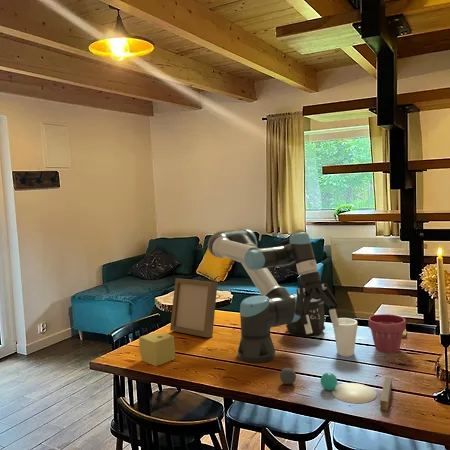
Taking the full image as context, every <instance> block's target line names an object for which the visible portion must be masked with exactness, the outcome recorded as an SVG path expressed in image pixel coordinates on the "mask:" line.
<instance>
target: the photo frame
mask: <svg viewBox="0 0 450 450" xmlns="http://www.w3.org/2000/svg"><path fill="white" fill-rule="evenodd" d="M174 281H175V282H174V290H173V298H172V299H173V300H172V309H171V318H170V319H171V320H170V327H169V330H170V331H172V332H175V333H176V332H177V333H182V334H187V335H193V336H196V337H202V338H213V333H214V323H215V313H216V312H215V311H216V302H217V293H218V292H217V291H218V282H213V281H206V280H205V281H204V280H195V279H186V278H176V277H175V280H174Z"/></svg>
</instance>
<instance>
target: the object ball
mask: <svg viewBox="0 0 450 450" xmlns="http://www.w3.org/2000/svg"><path fill="white" fill-rule="evenodd" d="M320 385H321V387H322V388H323V389H324V390H327V391H332V390H333V389H335V388H336V386H337V385H338V379H337V377H336V375H335V373H332V372H325V373H324V374H322V375H321V378H320Z"/></svg>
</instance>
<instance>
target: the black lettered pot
mask: <svg viewBox="0 0 450 450" xmlns="http://www.w3.org/2000/svg"><path fill="white" fill-rule="evenodd" d="M304 296H305V293H304ZM303 301H304V299H303ZM306 315H308V316H309V320H310V324H311V327H312V331H313V333H310V334H306V331H305V327H304V325H303V324H302V320H301V317H300V319H299V320H298V321H296V322H293V323H291V324H285V327H286V329H287V331H288V333H289V334H290V335H292V336H295V337H297V338H298V337H299V338H301V337H302V338H312V337H319V336H320V335H321V334H323V333H324V330H326V327H325V318H326V317H325V303H324V302H323V301H322V300H321V299H320V298H318V297H317V298H312V299H311V301H310V304H309V307H308V310H307V313H306Z"/></svg>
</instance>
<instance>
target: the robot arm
mask: <svg viewBox="0 0 450 450" xmlns="http://www.w3.org/2000/svg"><path fill="white" fill-rule="evenodd" d="M257 239H258V238H257V236H256V235H255V232H253V231H252V230H250V229H247V228H245V229H244V228H240V229H235V230H233V229H232V230H223V231H217V232H215V233H213V234H212V235H211V236H210V238H209V239H208V242H207V250H208V251H209V254H211V255H212V256H213V257H216V258H219V259H224V258H226V259H230V260H232V261H233V260H234V261H235V262H237V263H240V264H241V265H242V267H243V269H244V270H245V271H246V273H247V274H248V277H250V279H251V281H252V282H253V285H255V288H256V289H257V290H258V292H259V294H260V295H252V296H249V297H246V298H244V299H243V300H242V301H241V303H240V306H239V315H240V316H239V317H240V333H241V334H240V341H239V344H238V348H237V358H238V359H239V360H241V361H243V362H247V363H252V364H253V363H265V362H270V361H272V360H274V358H275V357H276V349H275V345H274V343H273V340H272V338H271V328H275V327H281V326H284V325H285V326H286V325H287V324H291V323H293V322H296V321H298V320H299V319H300V317H301V320H302V324H303V325H304V327H305V331H306V334H310V333H313V331H312V327H311V324H310V320H309V316H308V315H306V313H307V310H308V307H309V304H310V301H311V299H312V298H317V297H318V298H320V299H321V300H322V301H323V302H324V305H326V307H328V308H329V310H328V312H329V316H330V320H331V324H332V328H333V327H338V326H340V325H339V321H338V317H339V315H338V310H337V309H338V307H339V306H340V303H339V301H338V299H337V298H336V296H335V295H334V294H333V292H332V290H331V289H330V287H329V285H328V283H322V284H321V280H322V279H321V276H320V272H318V270H319V268H318V264H317V261H316V257H315V254H314V250H313V246H312V241H311V238H310V235H309V233H307V232H303V231H302V232H297V233H294V234H291V235H290V236H289V239H288V240H289V243H288V244H285V245H279V246H272V247H265V248H260V247H258V240H257ZM294 263H295V265H296V270H297V274H298V276H299V281H300V285H301V286H302V287H298V288H296V293H289V291H288V290H287V289H286V288H285V287H284V286H280V285H279V284H278V282H277V280H276V279H275V277H274V276H273V274H272V273H271V271H270V270H269V268H274V267H280V268H281V267H287V266H290V265H293V264H294ZM304 294H305V296H304ZM303 299H304V301H303Z"/></svg>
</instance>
